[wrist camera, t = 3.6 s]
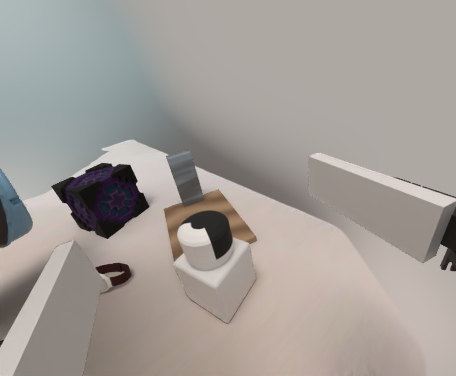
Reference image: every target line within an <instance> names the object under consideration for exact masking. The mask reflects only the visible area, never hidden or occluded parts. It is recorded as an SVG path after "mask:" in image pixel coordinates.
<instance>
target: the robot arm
mask: <svg viewBox="0 0 456 376" xmlns="http://www.w3.org/2000/svg"><path fill="white" fill-rule="evenodd" d="M308 161H309V162H308V165H309V166H308V169H309V195H311V196H312V197H314V198H316V199H317V200H319V201H321V202H323V203H324V204H325V205H327V206H329V207H330V208H332V209H334V210H335V211H337V212H339V213H340V214H342V215H344V216H345V217H347V218H349V219H350V220H352V221H354V222H355V223H357V224H359V225H360V226H362V227H364V228H365V229H367V230H368V231H370V232H372V233H374V234H375V235H377V236H378V237H380V238H382V239H383V240H385V241H386V242H388V243H390V244H392V245H393V246H395V247H396V248H398V249H400V250H401V251H403V252H405V253H406V254H408V255H410V256H411V257H413V258H415V259H416V260H418V261H419V262H421V263H424V262H426V261H428V260H429V259H431V258H432V257H434V256H436V254H437V251H438V249H439V246H440V244H441V245H443V246H445V247H447V248H448V249H447V251H446V254H445V256H444V258H443V261H442V263H441V265H440V266H441V269H442V270H446V268H447V265H448V263H449V262H452V266H451V268H450V270H451V271H456V197H454V196H451V195H448V194H445V193H442V192H439V191H436V190H433V189H430V188H427V187H424V186H423V187H421V186H420V185H418V184H415V183H410V182H409V181H405V180H403V179H400V178H395V177H390V176H387V175H384V174H381V173H378V172H375V171H372V170H369V169H366V168H363V167H360V166H357V165H354V164H351V163H348V162H345V161H342V160H339V159H336V158H334V157H331V156H327V155H324V154H322V153H316V154H313V155H310V156H309V157H308ZM32 226H33V222H32V219H31V217H30V214H29V213H28V211H27V209H26V207H25V206H24V204H23V202H22V201H21V200H20V199H19V196H18V195H17V193H16V191H15V189H14V188H13V186H12V185H11V183H10V182H9V180H8V179H7V177H6V176H5V174H4V173H3V172H2V170H1V169H0V248H4V247H6V246H8V245H9V244H10V243H11V242H13V241H14V240H16V239H18V238H20V237H22V236H24V235H25V234H27V233H28V232H29V231H30V230H31V229H32ZM102 281H103V278H102V277H101V275H100V274H99V273H98V271H97V270H96V268H95V267H94V266H93V264H92V263H91V262H90V260H89V259H88V258H87V256H86V255H85V254H84V252H83V251H82V249H81V248H80V247H79V245H78V244H77V243H76V241H75V240H73V241H70V242H67V243H65V244H62V245H59V246H56V248H55V249H54V251H53V253H52V255H51V257H50V258H49V260H48V262H47V264H46V266H45V267H44V269H43V271H42V273H41V275H40V276H39V278H38V280H37V282H36V284H35V285H34V287H33V289H32V291H31V293H30V294H29V296H28V298H27V300H26V302H25V304H24V305H23V307H22V309H21V311H20V313H19V314H18V316H17V318H16V320H15V322H14V323H13V325H12V327H11V329H10V331H9V332H8V334H7V336H6V338H5V340H2V341H0V376H83V373H84V368H85V363H86V359H87V354H88V349H89V344H90V339H91V334H92V330H93V325H94V320H95V315H96V310H97V305H98V301H99V296H100V291H101V286H102Z"/></svg>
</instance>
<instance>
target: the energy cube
mask: <svg viewBox="0 0 456 376" xmlns="http://www.w3.org/2000/svg"><path fill="white" fill-rule="evenodd" d="M137 182H138V181H137V179H136V177H135V174H134V172H133V170H132V168H131V166H130V165H123V164H119V165H117V166H116V167H113V166H112V164H108V163H101V164H99V165H97V166H94V167H92V168H90V169H88V170H86V173H85V174H83V175H81V176H79V177H77V178H74V177H70V178H68V179H66V180H64V181H61V182H59V183H57V184H55V185H53V186H51V187H52V188H53V190H54V191H55V192H56V194H57V195H58V197H59V198H60V200H61V201H62V203H67V204H68V206H69V207H70V209H71V210H72V213H71V216H72V217H73V218H74V220H75V221H76V223H77V224H78V226H79V227H80V228H81V229H84V230H86V231H91V230H94V231H95V233H96V234H97V235H99V236H102V237H104V238H107V239H108V238H109V237H111V236H112V235H113V234H115V233H116V232H117V231H118V230H120V229H121V228H122V227H124V223H125V222H126V221H127V220H129V219H130V218H131V217H137V216H138V215H140V214H141V213H142V212H144V211H145V210H146V209H148V208H149V205H148V203H147V201H146V199H145V196H144V194H143V193H140V192H139V190H138V188H137V186H136V183H137Z"/></svg>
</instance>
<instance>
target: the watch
mask: <svg viewBox="0 0 456 376" xmlns="http://www.w3.org/2000/svg"><path fill="white" fill-rule="evenodd" d="M96 270H97V271H98V273H99V274H100V275H101V277H102V278H103V281H102V286H101V291H100V293H104V292H106V291H107V290H108V289H109V288H110V287H113V286H116V285H120V284H122V283H124V282H126V281H128V280H129V278H130V277H131V273H130V270H129V266H128V265H126V264H122V263H113V264H107V265H102V266H99V267H96ZM122 271H124V273H123V274H121V275H119V276H115V277H107V276H105V275H103V274H105V273H109V272H122Z"/></svg>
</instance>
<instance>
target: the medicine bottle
mask: <svg viewBox="0 0 456 376" xmlns="http://www.w3.org/2000/svg"><path fill="white" fill-rule="evenodd" d="M177 237H178V240H179V242H180V245H181V247H182V250H183V252H184V253H183V254H182V255H181V256H180V257H179V258H178V259H177V260H176V261H175V262H174V263H173V265H174V268H175V270H176V272H177V274H178V276H179V278H180V281H181V283H182V285H183V287H184V289H185V291H186V294H187V296H188V297H189V298H190V299H191V300H193V301H194V302H196V303H197V304H199V305H200V306H202V307H203V308H205V309H206V310H208V311H209V312H211V313H212V314H214V315H215V316H217V317H218V318H220V319H221V320H223V321H224V322H226V323H229V322H230V320H231V319H232V317H233V315H234V314H235V312H236V310H237V309H238V307H239V306H240V304H241V302H242V301H243V299H244V298H245V296H246V294H247V293H248V291H249V289H250V288H251V286H252V285H253V283H254V281H255V280H256V276H255V271H254V266H253V260H252V255H251V250H250V245H249V243H248V242H245V241H242V240H239V239H236V238H234V237H232V233H231V229H230V225H229V220H228V218H227V217H226V216H225V215H224V214H222V213H221V212H218V211H213V210H207V211H201V212H198V213H195V214H193V215H191V216H189V217H188V218H187V219H185V220H184V221H183V222H182V224H181V225H180V227H179V229H178V232H177Z"/></svg>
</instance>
